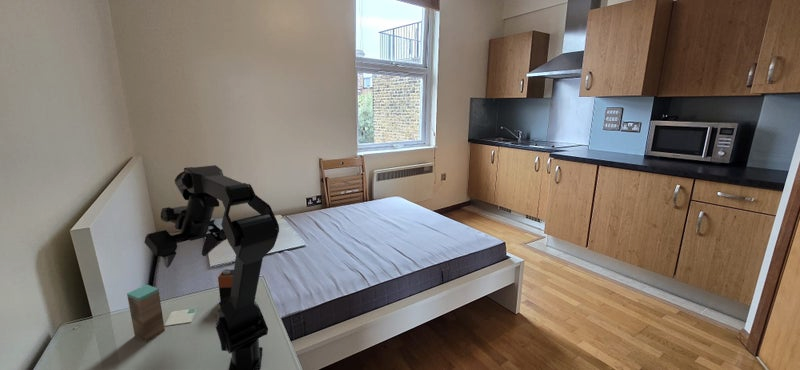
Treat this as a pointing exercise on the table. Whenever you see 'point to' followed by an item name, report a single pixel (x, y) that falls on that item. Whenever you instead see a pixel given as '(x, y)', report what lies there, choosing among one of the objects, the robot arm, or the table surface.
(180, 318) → the pad
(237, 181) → the robot arm
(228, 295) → the battery
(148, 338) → the block
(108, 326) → the table surface
